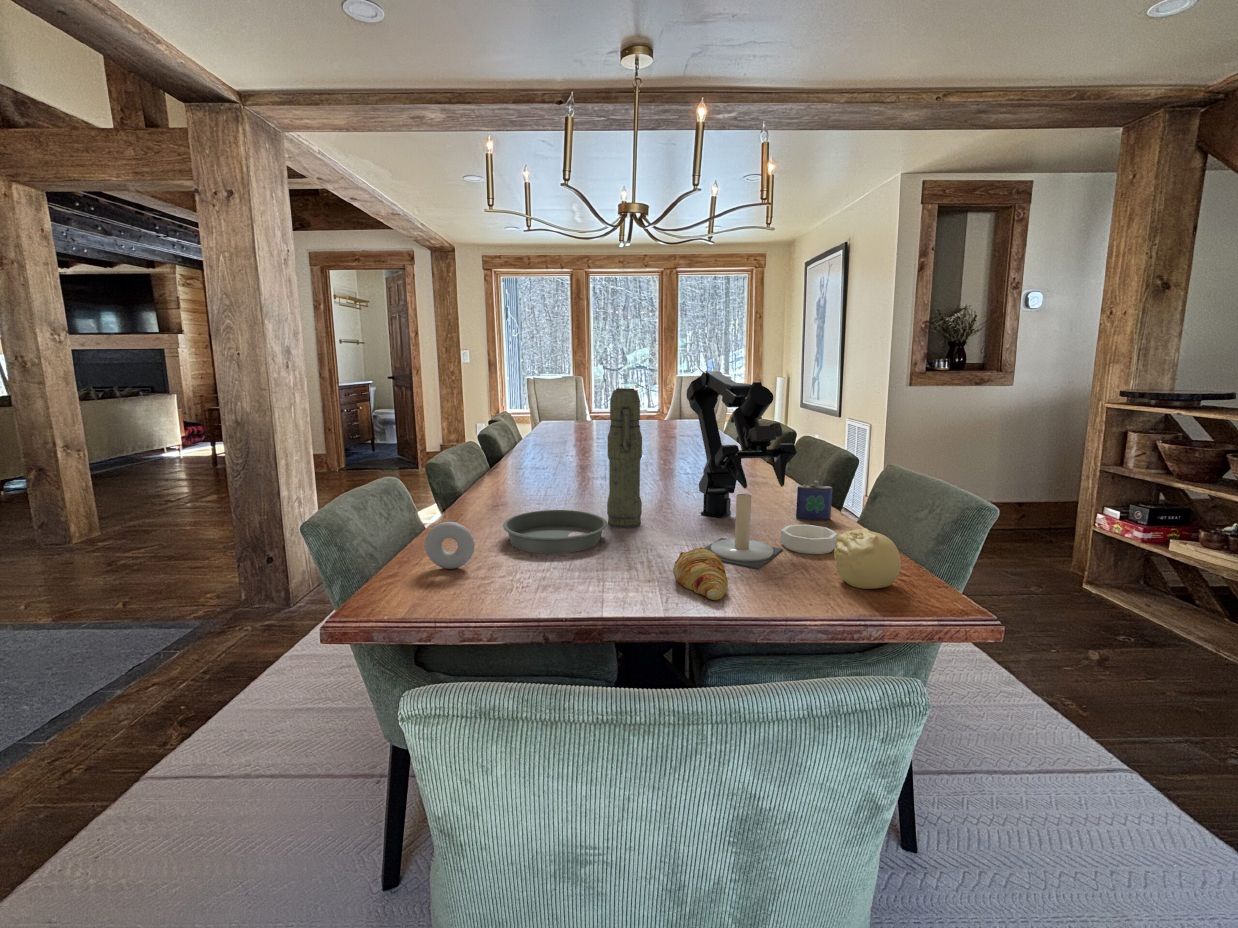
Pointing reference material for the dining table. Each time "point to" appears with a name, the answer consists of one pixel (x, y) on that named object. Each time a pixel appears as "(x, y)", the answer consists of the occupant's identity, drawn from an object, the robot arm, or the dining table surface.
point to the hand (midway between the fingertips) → (764, 486)
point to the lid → (742, 537)
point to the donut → (446, 558)
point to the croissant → (701, 573)
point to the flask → (814, 502)
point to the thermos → (624, 459)
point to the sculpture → (866, 559)
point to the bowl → (808, 539)
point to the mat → (748, 563)
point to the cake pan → (554, 530)
